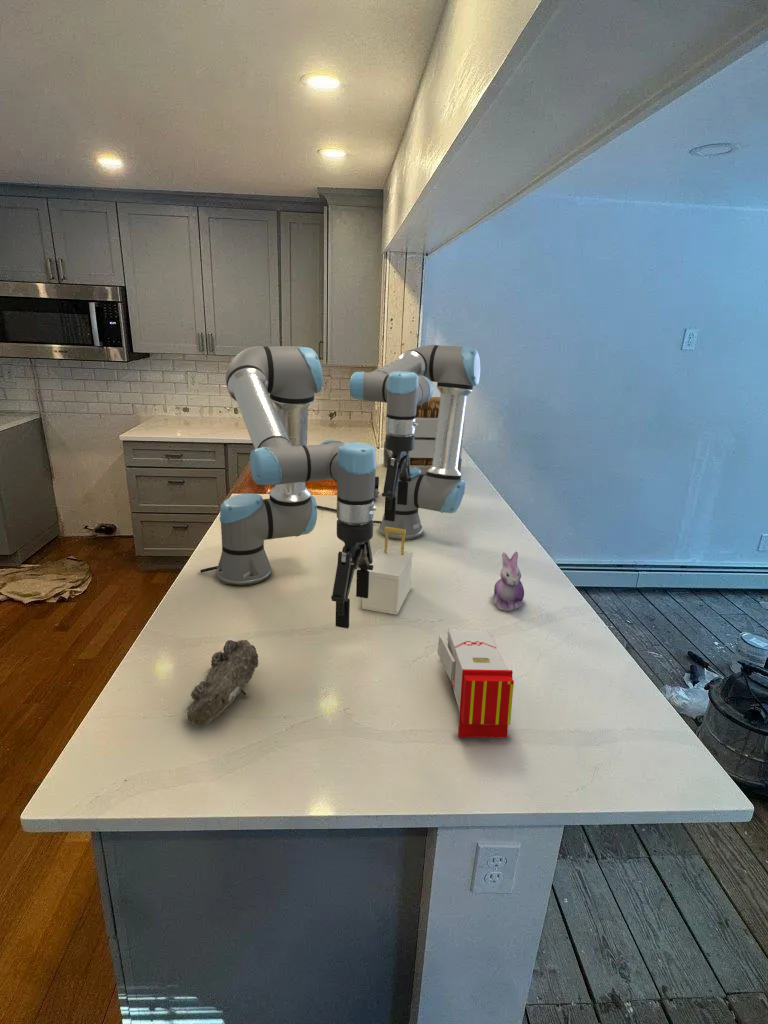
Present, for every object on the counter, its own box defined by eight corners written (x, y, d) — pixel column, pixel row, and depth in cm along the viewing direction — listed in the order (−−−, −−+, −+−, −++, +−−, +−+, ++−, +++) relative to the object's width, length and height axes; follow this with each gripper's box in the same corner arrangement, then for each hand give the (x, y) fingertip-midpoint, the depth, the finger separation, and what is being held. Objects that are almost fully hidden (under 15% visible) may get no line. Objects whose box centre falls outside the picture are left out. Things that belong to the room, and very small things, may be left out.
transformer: (382, 463, 289) (386, 382, 275) (445, 464, 293) (451, 384, 279) (390, 482, 257) (394, 392, 243) (460, 483, 261) (468, 394, 247)
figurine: (506, 615, 149) (513, 563, 144) (482, 598, 157) (488, 548, 152) (534, 608, 153) (541, 558, 148) (509, 592, 161) (516, 543, 156)
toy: (488, 613, 130) (523, 677, 101) (484, 667, 133) (517, 744, 104) (435, 612, 130) (455, 676, 101) (432, 666, 133) (451, 743, 103)
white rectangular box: (379, 551, 160) (381, 522, 157) (412, 556, 158) (414, 527, 155) (363, 574, 146) (364, 543, 143) (398, 580, 144) (400, 548, 141)
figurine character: (379, 506, 231) (378, 490, 244) (379, 489, 227) (379, 474, 241) (362, 505, 230) (363, 490, 244) (363, 488, 227) (363, 474, 240)
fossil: (208, 642, 124) (257, 611, 119) (238, 671, 127) (287, 641, 122) (164, 718, 104) (221, 685, 99) (200, 750, 107) (257, 719, 102)
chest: (377, 584, 163) (378, 553, 159) (409, 589, 161) (411, 558, 157) (361, 608, 149) (363, 575, 146) (396, 615, 147) (398, 580, 144)
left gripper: (353, 544, 103) (350, 644, 111) (388, 503, 126) (384, 588, 133) (315, 538, 105) (314, 637, 112) (356, 499, 128) (354, 583, 135)
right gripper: (402, 445, 133) (398, 529, 140) (424, 426, 155) (419, 499, 163) (372, 442, 134) (369, 525, 142) (397, 424, 157) (394, 496, 164)
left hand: (352, 611), depth 123 cm, fingers open, 13 cm apart
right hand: (396, 512), depth 152 cm, fingers open, 13 cm apart
